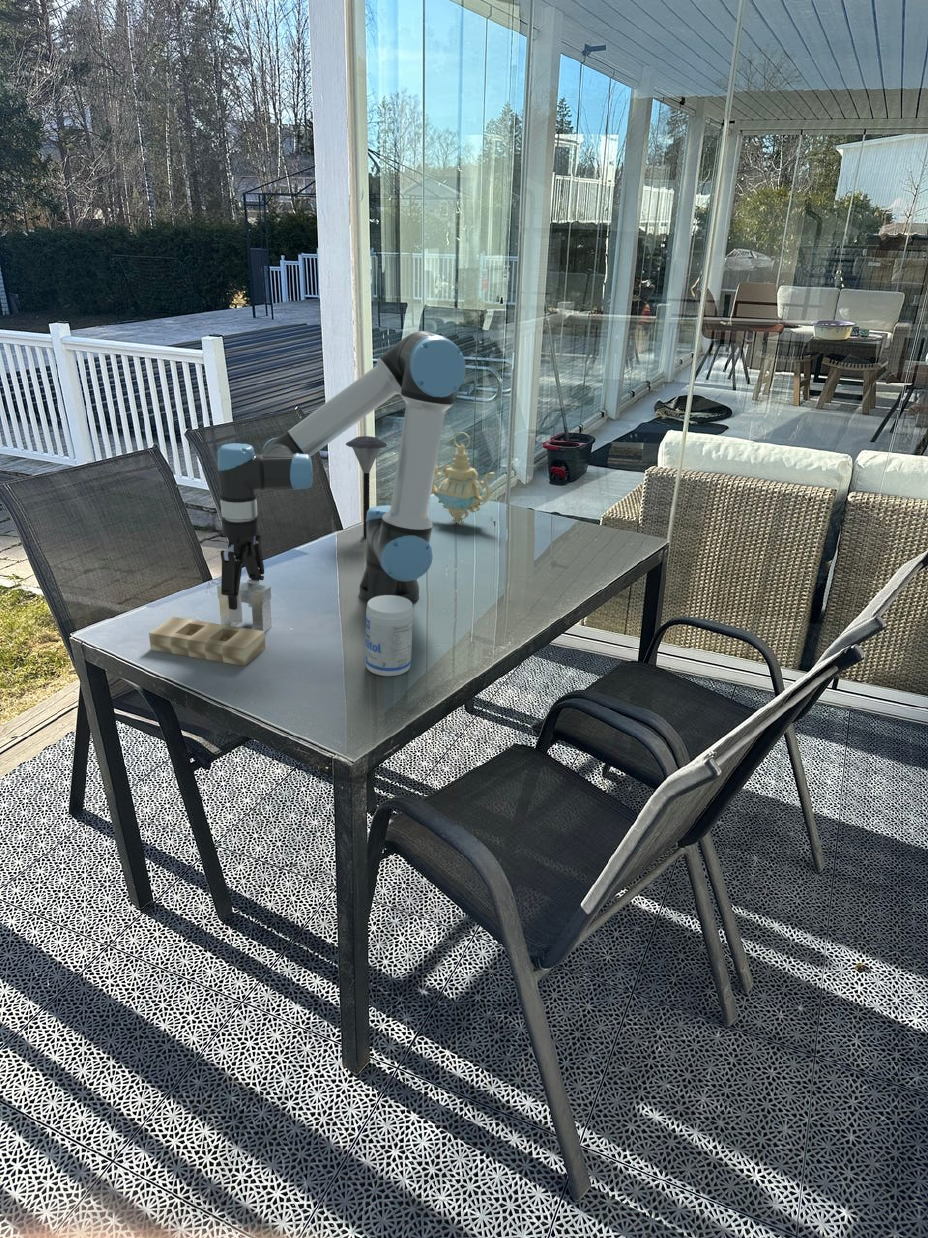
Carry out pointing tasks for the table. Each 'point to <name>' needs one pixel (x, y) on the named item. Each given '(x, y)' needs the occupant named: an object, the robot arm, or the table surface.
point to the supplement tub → (388, 635)
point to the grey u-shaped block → (255, 596)
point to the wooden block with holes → (207, 641)
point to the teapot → (461, 486)
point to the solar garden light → (366, 465)
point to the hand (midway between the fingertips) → (245, 613)
